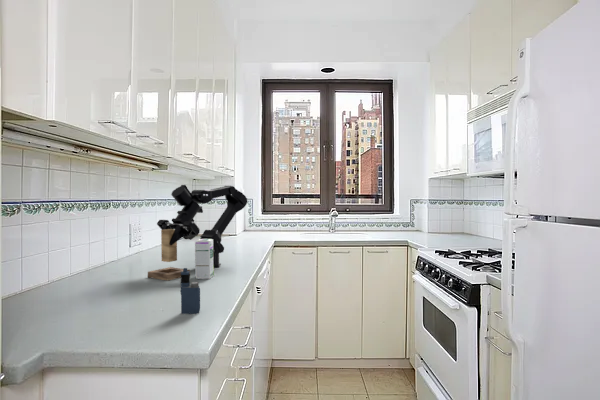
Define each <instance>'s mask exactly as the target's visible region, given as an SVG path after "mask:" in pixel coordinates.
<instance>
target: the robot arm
mask: <svg viewBox="0 0 600 400" xmlns="http://www.w3.org/2000/svg"><path fill="white" fill-rule="evenodd" d="M170 195H171V196H172V198H173V199H174V200H175V201H176V203H177V204H178V205H179V206H180V207H183V208H182V209H181V210H178V211H177V212H176V214H177V216H176V217H175V218H174V217H173V218H171V222H172V223H171V222H170V221H169V220H168V219H159V220H158V221H157V222H156V225H157V226H158V227H159V228H160V229H161V230H166V229H175V231H174V233H173V236H172V238H171V240H170V243H169V244H170V245H173V244H174V243H175V242H177V243H178V241H180V240H181V239H182V238H183V239H184V240H193V239H194V238H195V237H198V236H199V234H200V232H201V230H200V228H199V227H198V225H197V224H196V222H195V219H194V218H195V217H196V215H197V214H198V213H199V214H202V213H203V214H204V210H203V206H201V205H200V204H202V205H203V204H208V203H211V202H212V200H213V199H216V198H220V197H225V200H226V205H227V207H226V208H225V209H224V211H223V213H222V214H221V215H220V217H219V218H218V220H217V221H216V223H214V225H213V227H211V229H205V230H204V231H203V233H202V234H201V235H200V238H199V239H213V255H214V268H220V266H221V265H222V263H220V254H222V253H224V250H225V246H224V245H223V244H222V235H223V233H224V232H225V230H226V229H227V227H228V225H229V224H230V223H231V221H232V220H233V218H234V217H235V215H236V214H237V213H239V212H240V211H242V210H243V209H244V208H245V207H246V206H247V204H248V198H247V196H246V195H245V194H244V192H241V191H240V190H238V189H237V188H236V186H233V185H223V186H220V187H215V188H211V189H193V190H191V191H190V190H189V189H188V186H187V185H186V184H181V185H180V186H178V187H176V188H175V189H173V190H172V192H171V194H170Z"/></svg>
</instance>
